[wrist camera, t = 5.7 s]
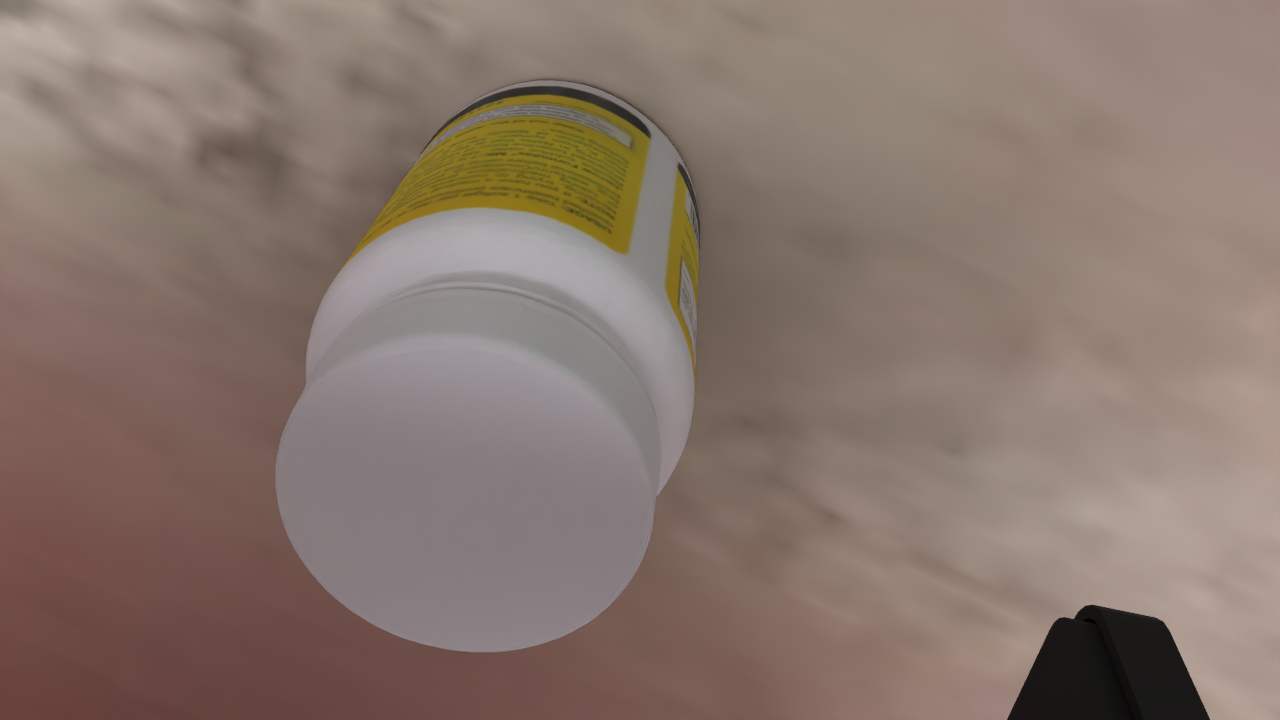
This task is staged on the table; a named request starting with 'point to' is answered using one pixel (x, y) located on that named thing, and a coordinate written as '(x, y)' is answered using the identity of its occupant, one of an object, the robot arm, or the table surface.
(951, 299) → the table surface
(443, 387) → the supplement bottle
